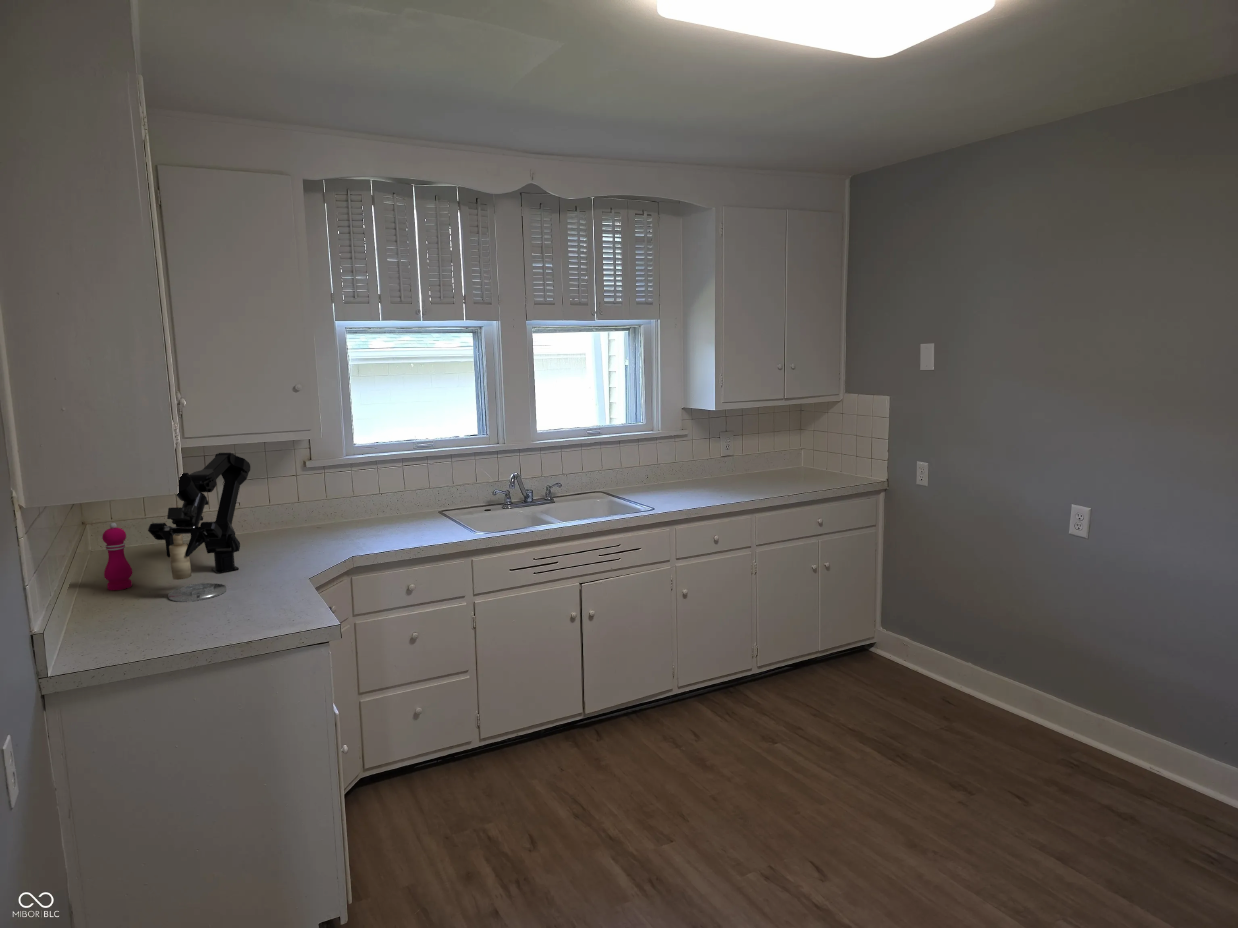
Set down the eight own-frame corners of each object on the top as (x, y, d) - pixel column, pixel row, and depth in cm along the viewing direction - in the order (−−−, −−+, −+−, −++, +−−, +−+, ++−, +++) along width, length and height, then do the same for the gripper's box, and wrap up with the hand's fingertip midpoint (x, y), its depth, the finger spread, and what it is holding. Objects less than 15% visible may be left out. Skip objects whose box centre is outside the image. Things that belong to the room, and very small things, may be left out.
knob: (169, 578, 226) (164, 535, 224) (185, 573, 230) (180, 531, 228) (179, 580, 224) (174, 537, 222) (195, 575, 228) (190, 533, 226)
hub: (168, 591, 233) (168, 584, 233) (224, 583, 240) (224, 576, 240) (168, 605, 220) (167, 598, 220) (227, 596, 227) (227, 589, 227)
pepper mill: (109, 585, 239) (101, 521, 236) (136, 582, 242) (129, 519, 239) (103, 592, 233) (95, 526, 230) (131, 589, 235) (124, 524, 232)
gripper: (147, 496, 227) (130, 543, 218) (213, 494, 227) (199, 541, 218) (164, 516, 236) (148, 562, 227) (228, 514, 237) (215, 560, 228)
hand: (177, 556), depth 225 cm, fingers closed on knob, 5 cm apart
